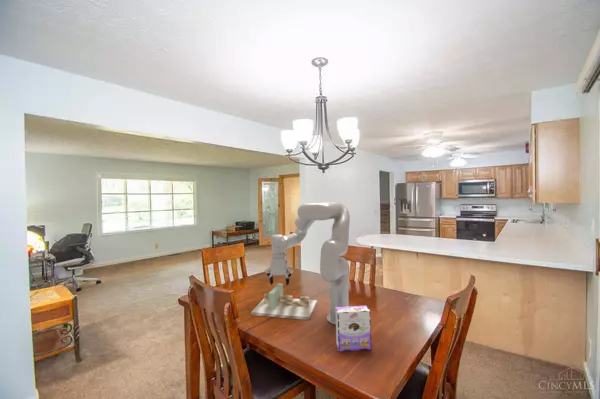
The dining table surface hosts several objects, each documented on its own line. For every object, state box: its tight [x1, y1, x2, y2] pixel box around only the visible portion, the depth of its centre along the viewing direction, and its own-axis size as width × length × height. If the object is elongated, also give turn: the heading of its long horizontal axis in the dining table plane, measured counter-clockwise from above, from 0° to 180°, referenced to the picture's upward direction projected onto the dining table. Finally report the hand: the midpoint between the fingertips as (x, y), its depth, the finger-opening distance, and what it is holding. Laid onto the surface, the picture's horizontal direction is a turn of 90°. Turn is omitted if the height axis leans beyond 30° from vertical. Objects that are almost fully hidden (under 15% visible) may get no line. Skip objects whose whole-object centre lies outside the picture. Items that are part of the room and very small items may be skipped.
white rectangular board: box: [250, 293, 318, 321], centre depth 155 cm, size 32×22×6 cm
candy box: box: [335, 305, 372, 352], centre depth 115 cm, size 14×6×16 cm, turn 92°
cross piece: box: [268, 283, 284, 310], centre depth 158 cm, size 16×3×9 cm, turn 166°
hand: (279, 284), depth 163 cm, fingers open, 9 cm apart
